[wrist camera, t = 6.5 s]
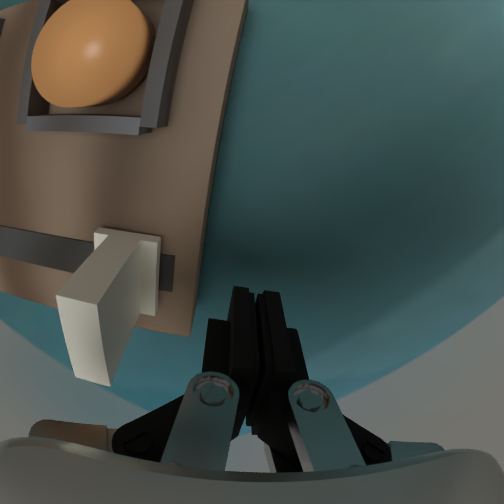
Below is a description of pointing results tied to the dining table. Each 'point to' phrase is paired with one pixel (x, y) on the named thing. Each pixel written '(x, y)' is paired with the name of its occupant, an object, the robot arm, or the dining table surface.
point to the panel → (115, 155)
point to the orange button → (92, 52)
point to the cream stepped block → (108, 301)
